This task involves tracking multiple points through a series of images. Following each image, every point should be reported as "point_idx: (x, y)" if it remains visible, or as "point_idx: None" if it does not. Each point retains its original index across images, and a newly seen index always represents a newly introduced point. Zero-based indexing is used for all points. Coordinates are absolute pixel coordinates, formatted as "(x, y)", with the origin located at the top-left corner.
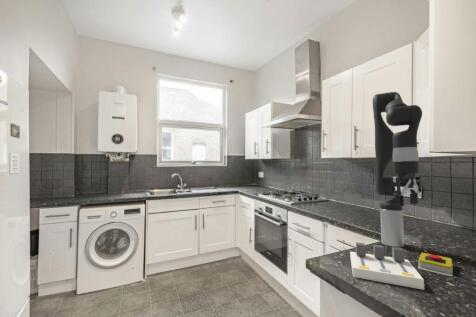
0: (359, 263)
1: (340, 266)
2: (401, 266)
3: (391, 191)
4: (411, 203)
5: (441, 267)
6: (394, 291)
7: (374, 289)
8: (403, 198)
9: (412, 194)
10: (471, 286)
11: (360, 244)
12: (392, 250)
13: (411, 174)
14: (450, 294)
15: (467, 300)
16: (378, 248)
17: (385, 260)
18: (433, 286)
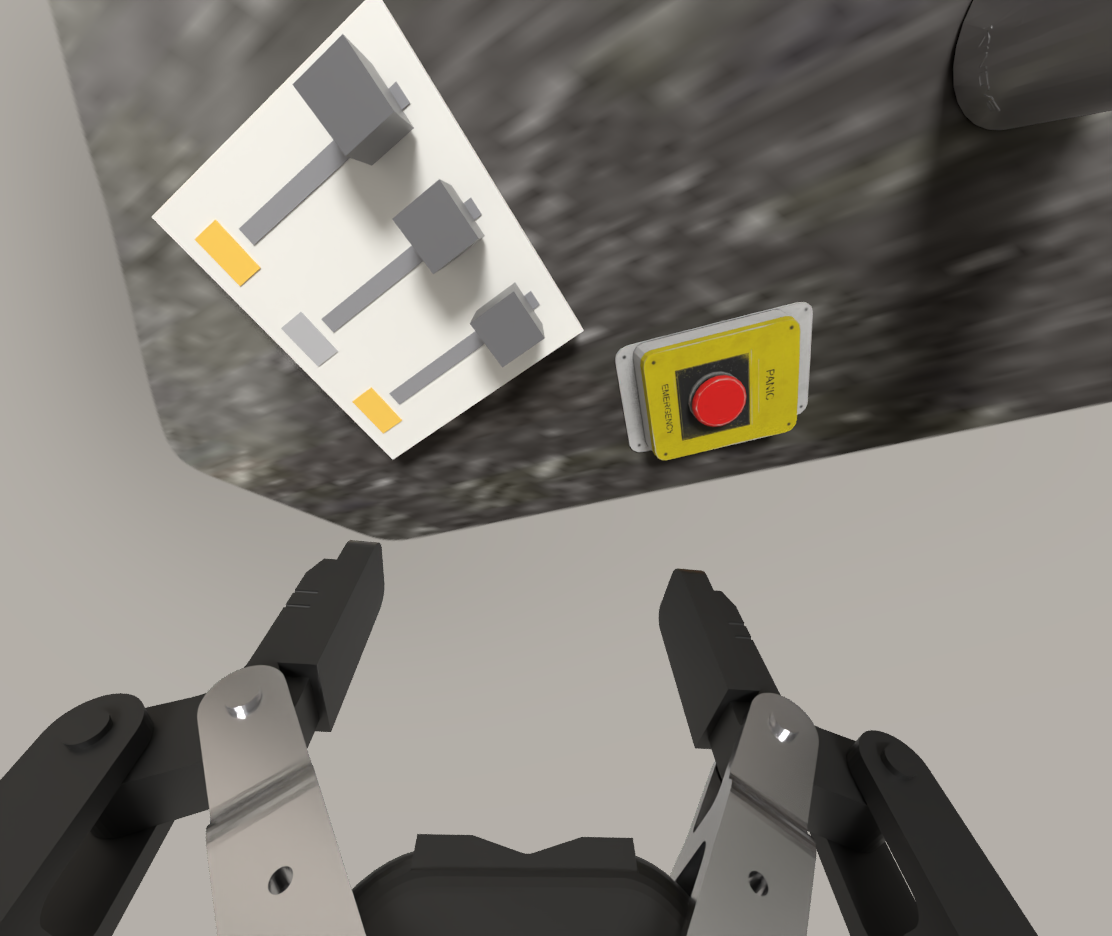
0: (246, 202)
1: (211, 64)
2: (442, 359)
3: (44, 746)
4: (676, 574)
5: (650, 430)
6: (275, 393)
7: (201, 345)
8: (340, 688)
9: (712, 706)
10: (586, 504)
11: (331, 107)
12: (506, 293)
13: None
14: (452, 491)
15: (456, 523)
16: (410, 242)
17: (453, 268)
18: (465, 447)
